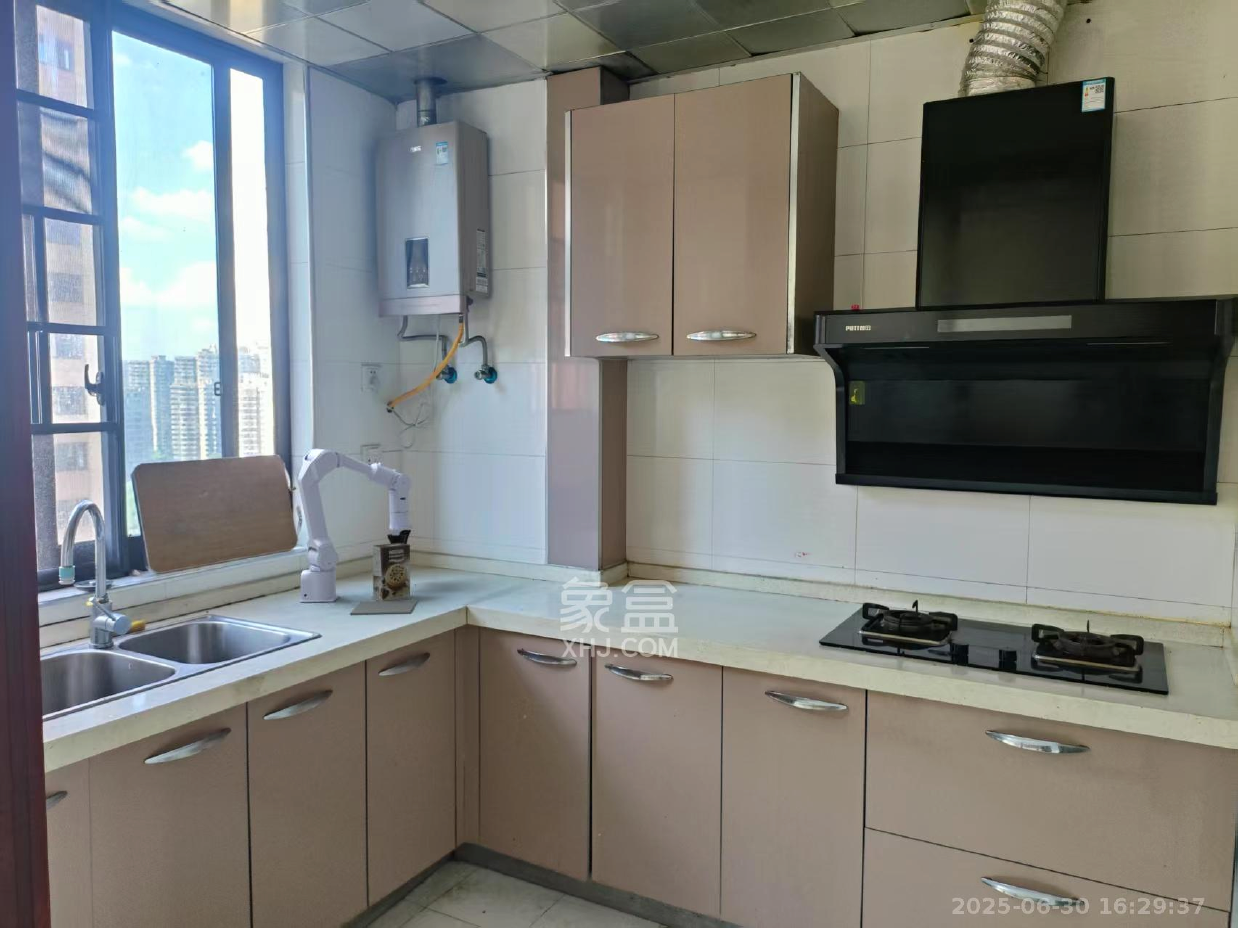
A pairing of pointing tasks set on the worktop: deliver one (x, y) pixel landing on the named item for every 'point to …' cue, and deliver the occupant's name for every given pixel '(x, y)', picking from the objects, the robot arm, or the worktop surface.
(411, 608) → the mat
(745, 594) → the worktop surface
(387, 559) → the coffee box
